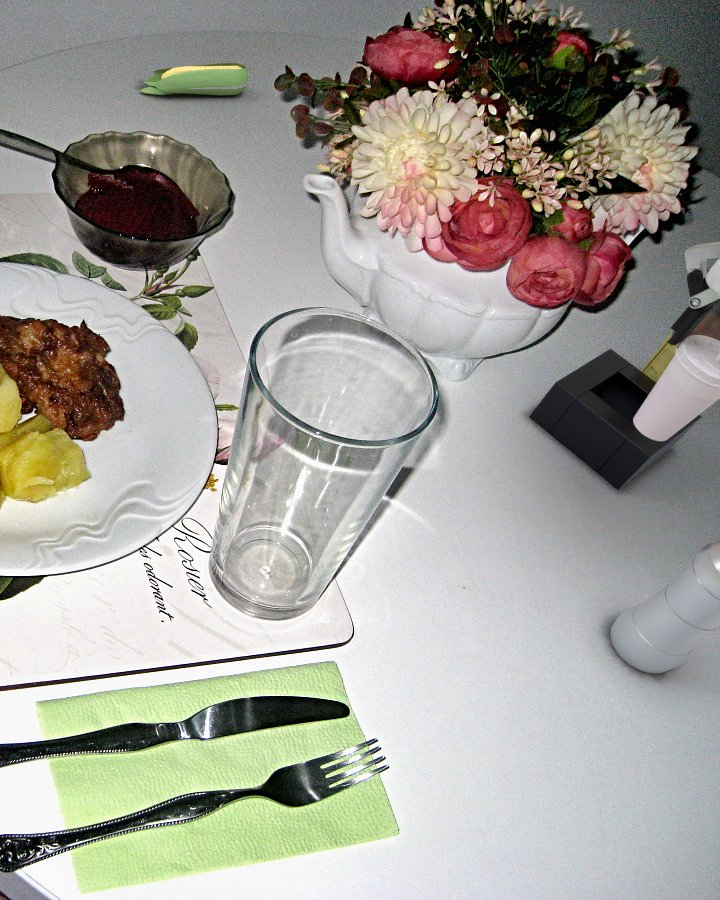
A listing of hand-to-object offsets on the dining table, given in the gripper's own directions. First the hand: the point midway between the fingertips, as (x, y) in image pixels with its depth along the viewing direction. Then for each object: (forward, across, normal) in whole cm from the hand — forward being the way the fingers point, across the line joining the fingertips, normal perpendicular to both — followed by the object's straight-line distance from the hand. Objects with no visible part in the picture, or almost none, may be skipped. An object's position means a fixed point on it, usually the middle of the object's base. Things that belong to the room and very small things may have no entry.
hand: (711, 362), depth 83 cm
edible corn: (+24, -89, +21) cm, 94 cm away
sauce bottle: (+25, -5, +28) cm, 37 cm away
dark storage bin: (+24, -5, +15) cm, 29 cm away
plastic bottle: (+24, +14, -10) cm, 30 cm away
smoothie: (+9, 0, 0) cm, 9 cm away
